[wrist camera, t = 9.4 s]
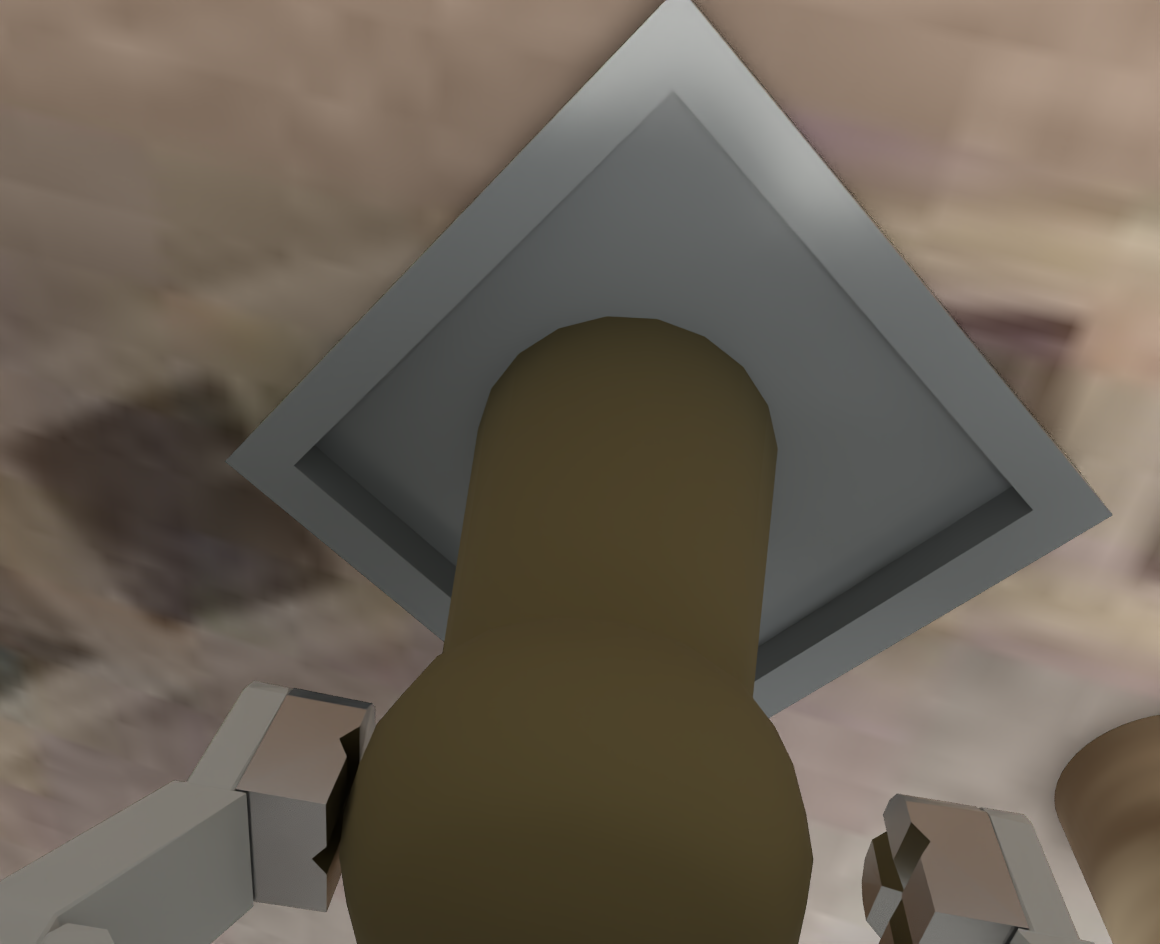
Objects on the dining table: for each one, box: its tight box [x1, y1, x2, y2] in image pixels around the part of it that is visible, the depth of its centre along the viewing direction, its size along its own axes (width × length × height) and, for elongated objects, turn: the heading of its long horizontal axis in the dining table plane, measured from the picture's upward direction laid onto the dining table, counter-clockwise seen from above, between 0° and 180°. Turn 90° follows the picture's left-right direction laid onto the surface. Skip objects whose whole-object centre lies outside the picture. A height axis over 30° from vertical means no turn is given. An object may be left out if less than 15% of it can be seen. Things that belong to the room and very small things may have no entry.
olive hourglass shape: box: [339, 316, 813, 944], centre depth 14 cm, size 6×6×11 cm
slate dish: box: [225, 0, 1112, 718], centre depth 18 cm, size 12×12×2 cm
